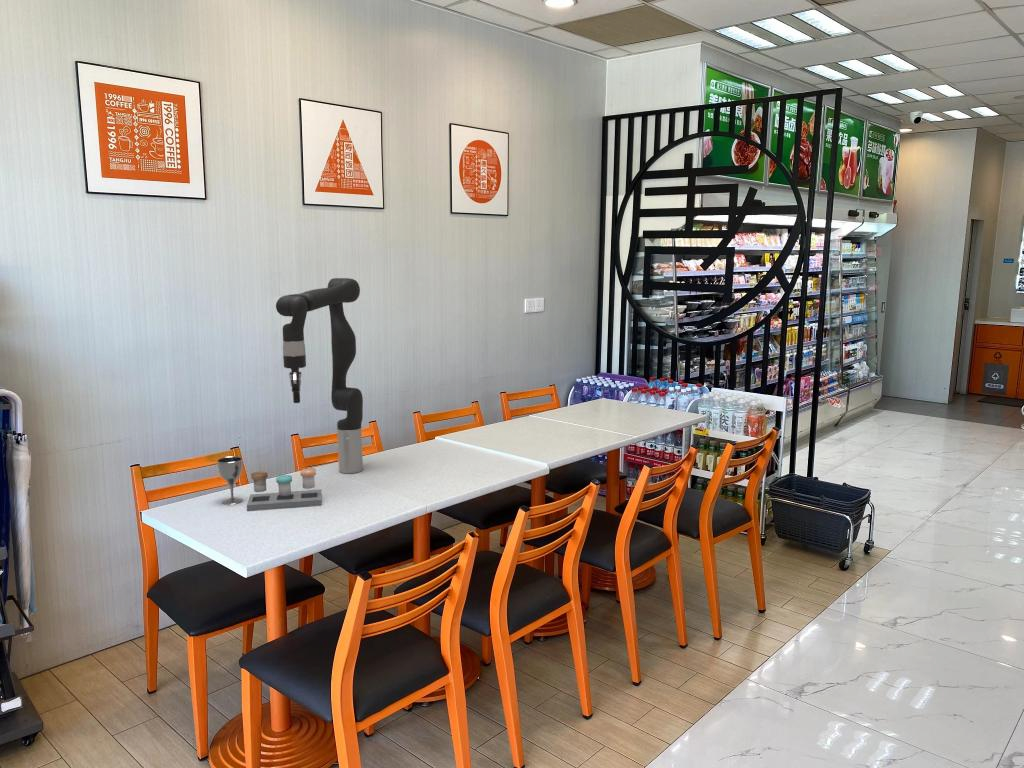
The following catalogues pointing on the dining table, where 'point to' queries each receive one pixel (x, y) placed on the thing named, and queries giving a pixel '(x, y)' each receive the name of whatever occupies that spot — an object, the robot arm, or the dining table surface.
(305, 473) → the terracotta button
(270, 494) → the button board
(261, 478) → the walnut button
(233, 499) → the wine glass
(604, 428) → the dining table surface
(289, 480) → the teal button
